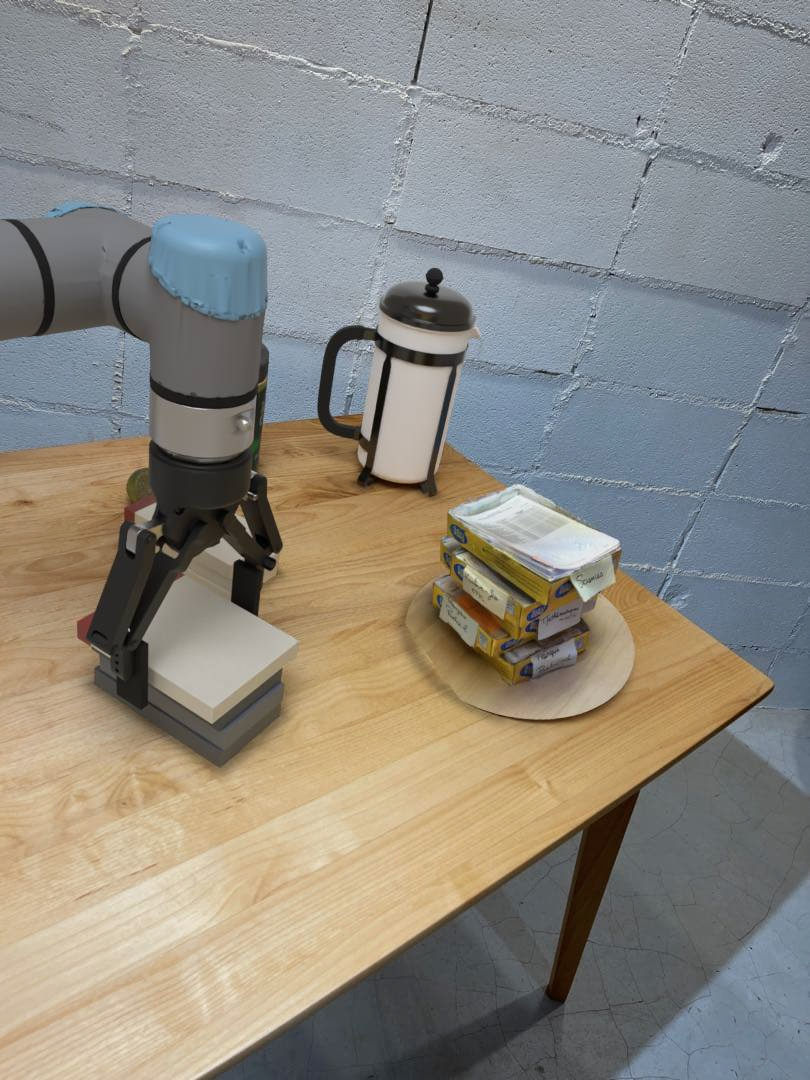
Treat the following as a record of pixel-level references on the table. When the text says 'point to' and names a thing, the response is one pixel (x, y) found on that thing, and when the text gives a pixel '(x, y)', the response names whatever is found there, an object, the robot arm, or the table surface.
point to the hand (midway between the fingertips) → (191, 659)
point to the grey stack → (197, 732)
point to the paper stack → (524, 609)
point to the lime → (139, 485)
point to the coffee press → (406, 380)
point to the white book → (208, 649)
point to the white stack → (209, 565)
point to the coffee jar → (260, 406)
